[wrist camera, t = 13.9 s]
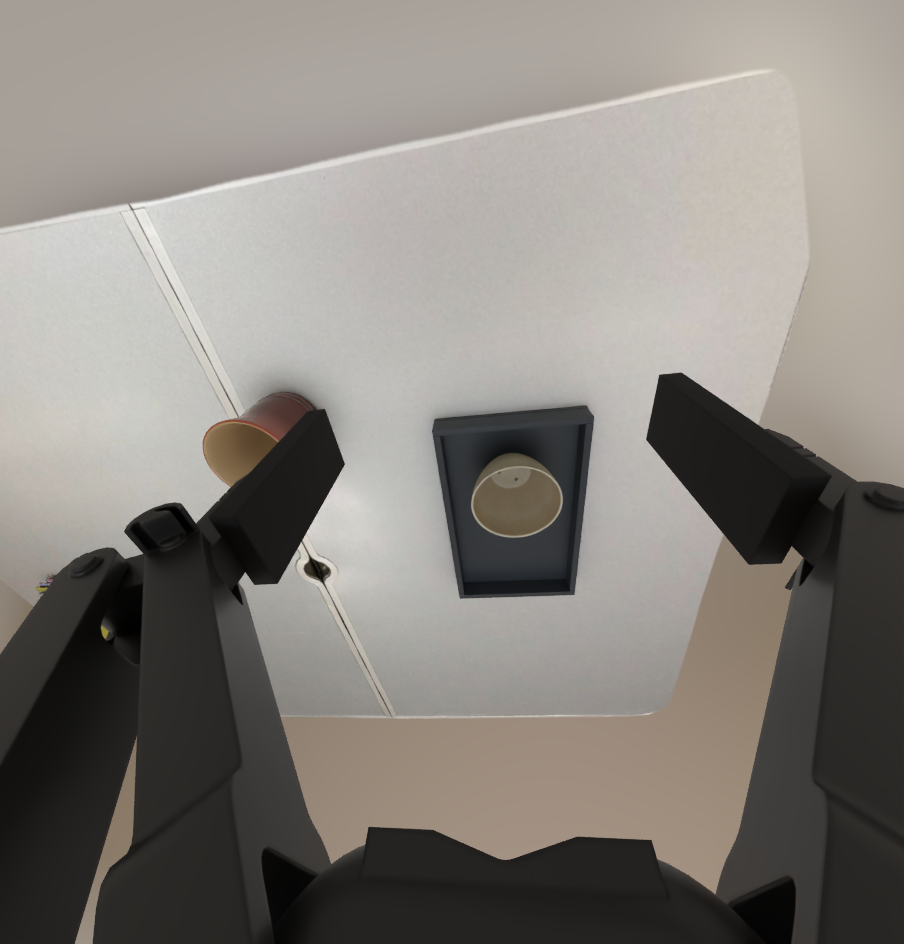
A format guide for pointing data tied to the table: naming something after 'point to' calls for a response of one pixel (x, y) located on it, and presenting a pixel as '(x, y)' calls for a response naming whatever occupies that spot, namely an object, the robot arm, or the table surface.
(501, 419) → the tray
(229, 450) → the mug
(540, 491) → the flower pot
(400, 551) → the table surface
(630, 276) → the table surface
